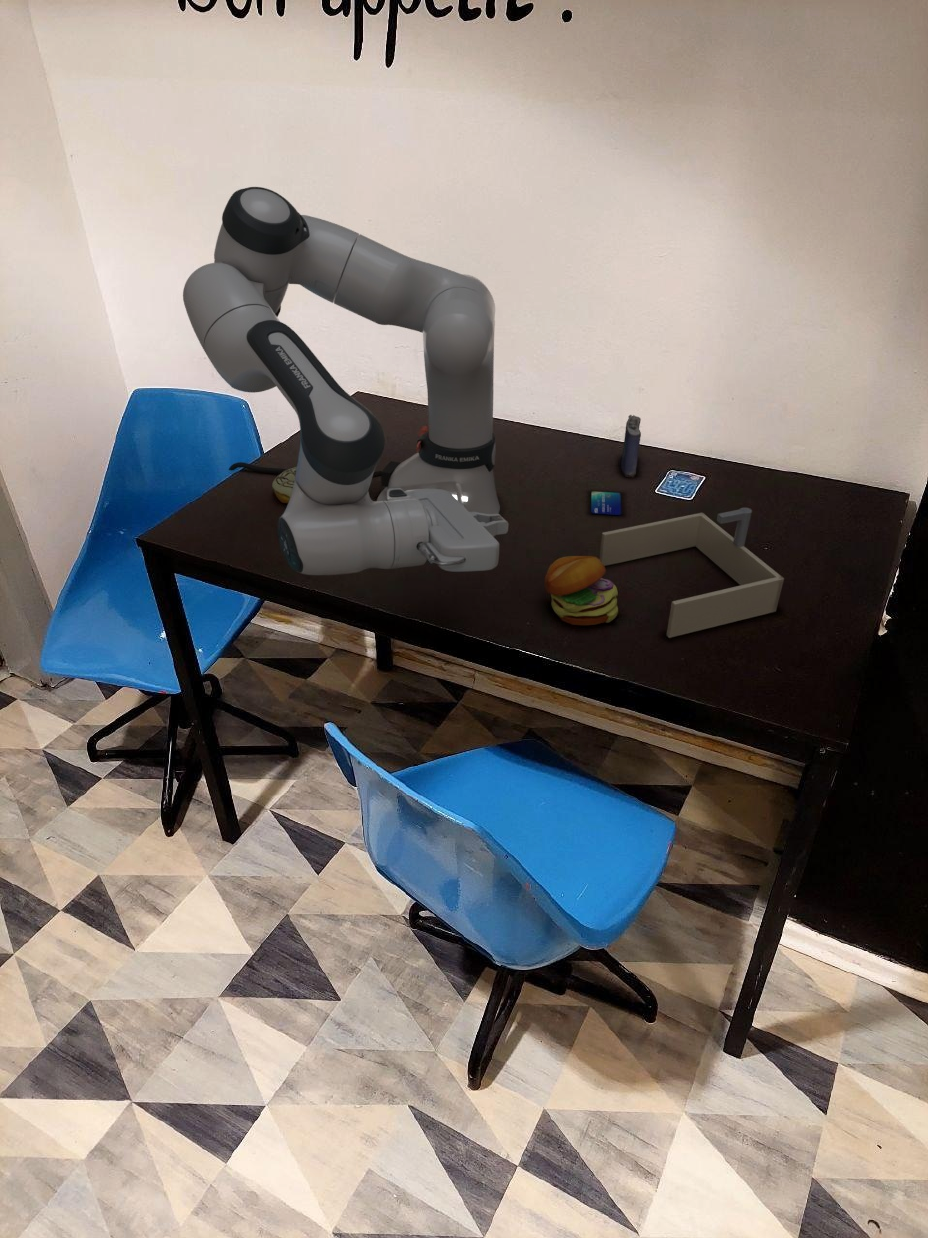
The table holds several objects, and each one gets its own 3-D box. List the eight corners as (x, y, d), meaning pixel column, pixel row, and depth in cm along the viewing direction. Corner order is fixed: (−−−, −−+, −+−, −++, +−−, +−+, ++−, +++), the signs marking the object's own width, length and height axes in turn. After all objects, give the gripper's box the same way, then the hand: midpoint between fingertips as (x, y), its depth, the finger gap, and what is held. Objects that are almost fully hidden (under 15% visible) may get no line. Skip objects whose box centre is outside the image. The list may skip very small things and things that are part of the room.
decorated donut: (262, 493, 165) (260, 475, 163) (309, 475, 171) (307, 457, 169) (295, 513, 159) (293, 494, 157) (342, 493, 165) (341, 475, 163)
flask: (636, 478, 171) (642, 425, 164) (620, 477, 171) (626, 424, 165) (635, 457, 178) (641, 406, 172) (620, 456, 178) (626, 405, 172)
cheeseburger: (603, 639, 128) (593, 579, 124) (538, 631, 134) (527, 573, 129) (630, 605, 135) (622, 546, 130) (568, 598, 141) (558, 542, 136)
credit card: (621, 515, 158) (621, 514, 158) (591, 513, 159) (591, 513, 159) (620, 493, 165) (620, 492, 165) (591, 491, 166) (591, 491, 166)
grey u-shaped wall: (668, 638, 129) (680, 568, 122) (598, 564, 145) (605, 499, 138) (778, 610, 134) (796, 542, 127) (699, 542, 151) (710, 479, 144)
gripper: (433, 542, 105) (538, 531, 110) (385, 483, 122) (478, 476, 127) (431, 589, 108) (534, 576, 113) (384, 526, 125) (475, 517, 130)
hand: (504, 523), depth 120 cm, fingers closed
